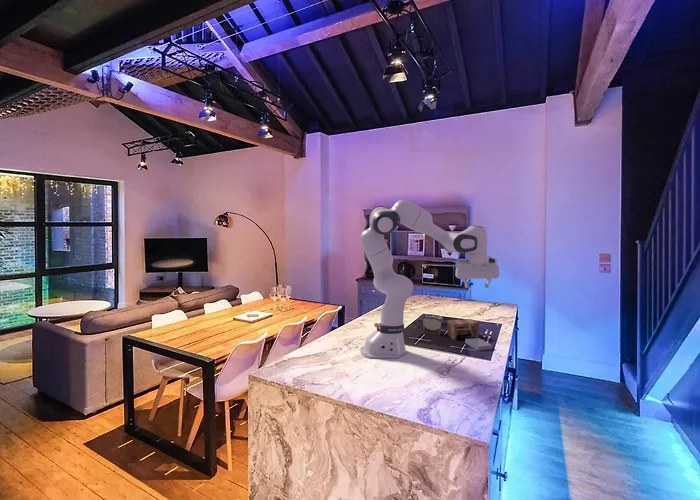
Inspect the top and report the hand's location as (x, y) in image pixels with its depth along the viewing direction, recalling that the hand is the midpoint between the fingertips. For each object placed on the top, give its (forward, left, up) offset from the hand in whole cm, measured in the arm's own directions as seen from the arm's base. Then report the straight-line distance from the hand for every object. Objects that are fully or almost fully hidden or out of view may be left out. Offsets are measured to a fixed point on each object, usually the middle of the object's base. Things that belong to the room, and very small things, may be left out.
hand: (476, 287), depth 176 cm
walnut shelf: (+7, +25, -33) cm, 42 cm away
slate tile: (+7, +9, -33) cm, 35 cm away
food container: (-6, +35, -33) cm, 48 cm away
